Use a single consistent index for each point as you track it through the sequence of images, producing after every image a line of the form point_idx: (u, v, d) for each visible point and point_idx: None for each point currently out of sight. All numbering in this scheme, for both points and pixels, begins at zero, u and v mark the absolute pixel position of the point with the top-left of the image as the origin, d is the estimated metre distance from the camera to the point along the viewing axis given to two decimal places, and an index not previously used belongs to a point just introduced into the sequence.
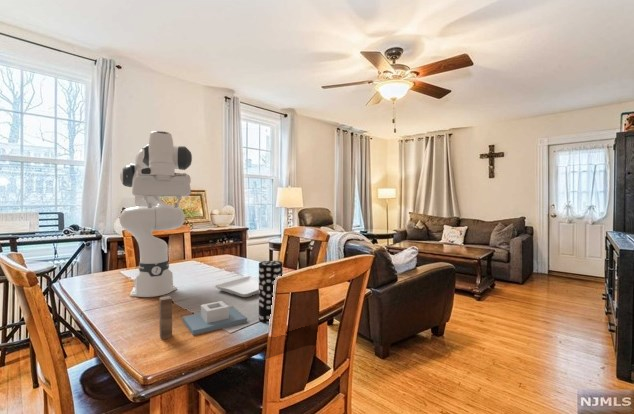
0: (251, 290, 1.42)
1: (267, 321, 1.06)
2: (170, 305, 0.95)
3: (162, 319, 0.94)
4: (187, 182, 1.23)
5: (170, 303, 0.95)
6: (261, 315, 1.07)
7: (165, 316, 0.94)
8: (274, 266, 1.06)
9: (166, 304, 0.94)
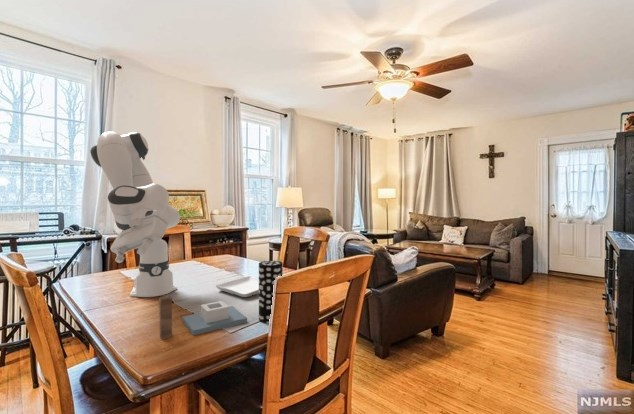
0: (251, 290, 1.42)
1: (267, 321, 1.06)
2: (170, 305, 0.95)
3: (162, 319, 0.94)
4: None
5: (170, 303, 0.95)
6: (261, 315, 1.07)
7: (165, 316, 0.94)
8: (274, 266, 1.06)
9: (166, 304, 0.94)
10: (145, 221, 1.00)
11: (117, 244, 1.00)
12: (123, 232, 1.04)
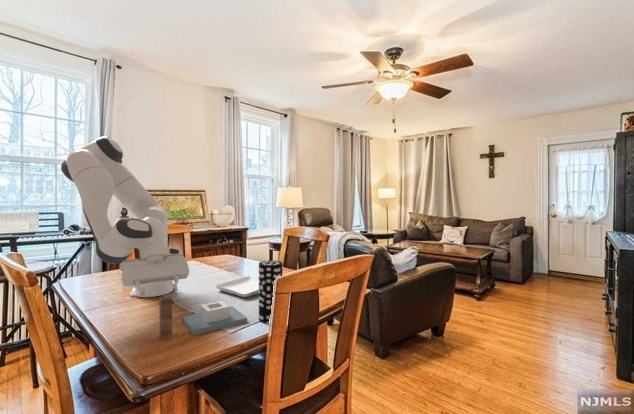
0: (251, 290, 1.42)
1: (267, 321, 1.06)
2: (170, 305, 0.95)
3: (162, 319, 0.94)
4: None
5: (170, 303, 0.95)
6: (261, 315, 1.07)
7: (165, 316, 0.94)
8: (274, 266, 1.06)
9: (166, 304, 0.94)
10: (170, 258, 1.08)
11: (134, 276, 0.99)
12: (134, 263, 1.02)
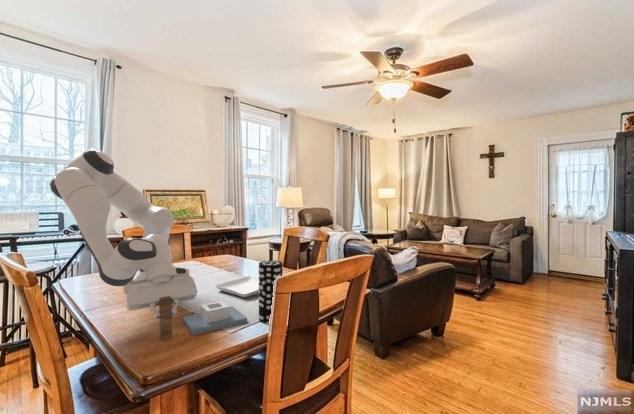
0: (251, 290, 1.42)
1: (267, 321, 1.06)
2: (170, 305, 0.95)
3: (162, 319, 0.94)
4: None
5: (170, 303, 0.95)
6: (261, 315, 1.07)
7: (165, 316, 0.94)
8: (274, 266, 1.06)
9: (166, 304, 0.94)
10: (177, 279, 1.02)
11: (140, 299, 0.94)
12: (139, 285, 0.96)
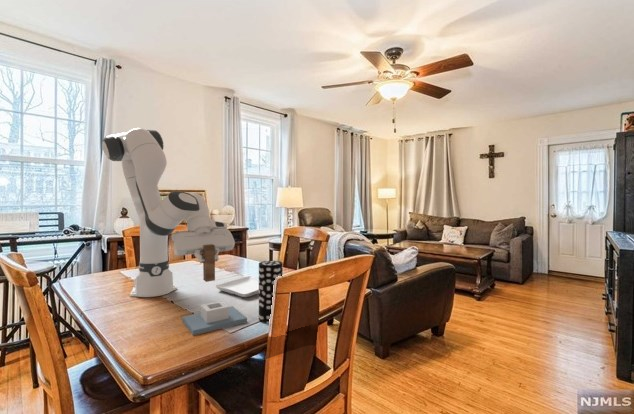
0: (251, 290, 1.42)
1: (267, 321, 1.06)
2: (213, 251, 1.05)
3: (206, 263, 1.04)
4: None
5: (213, 250, 1.05)
6: (261, 315, 1.07)
7: (209, 261, 1.04)
8: (274, 266, 1.06)
9: (209, 250, 1.04)
10: (216, 231, 1.12)
11: (187, 245, 1.03)
12: (184, 234, 1.06)
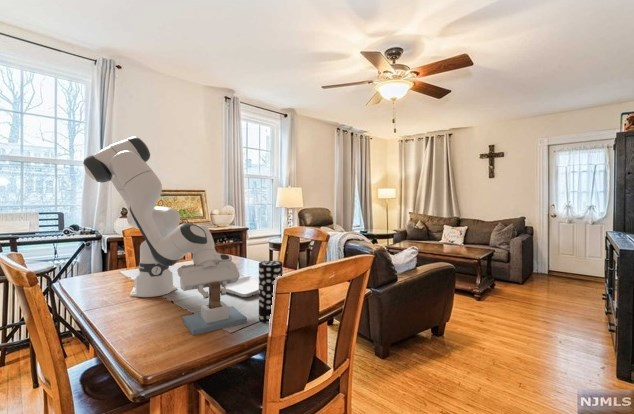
0: (251, 290, 1.42)
1: (267, 321, 1.06)
2: (219, 289, 1.07)
3: (212, 301, 1.05)
4: None
5: (219, 288, 1.07)
6: (261, 315, 1.07)
7: (215, 299, 1.06)
8: (274, 266, 1.06)
9: (215, 288, 1.06)
10: (222, 264, 1.14)
11: (193, 281, 1.05)
12: (190, 269, 1.08)
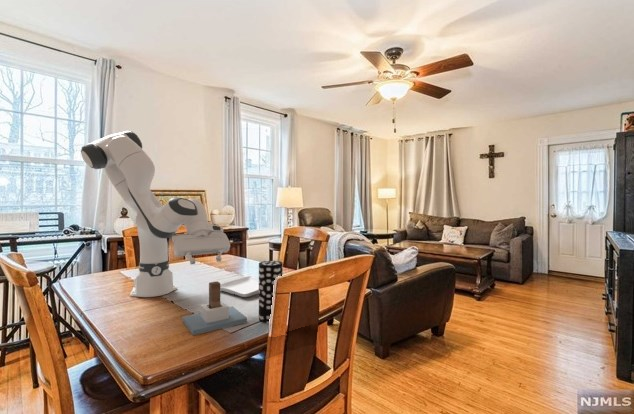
0: (251, 290, 1.42)
1: (267, 321, 1.06)
2: (219, 289, 1.07)
3: (212, 301, 1.05)
4: None
5: (219, 288, 1.07)
6: (261, 315, 1.07)
7: (215, 299, 1.06)
8: (274, 266, 1.06)
9: (215, 288, 1.06)
10: (213, 234, 1.22)
11: (186, 247, 1.13)
12: (184, 237, 1.16)
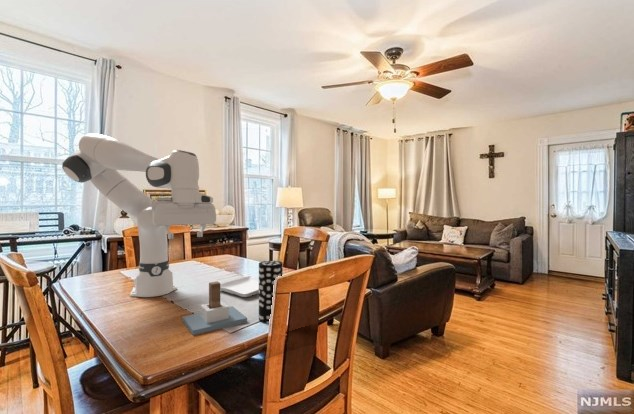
0: (251, 290, 1.42)
1: (267, 321, 1.06)
2: (219, 289, 1.07)
3: (212, 301, 1.05)
4: None
5: (219, 288, 1.07)
6: (261, 315, 1.07)
7: (215, 299, 1.06)
8: (274, 266, 1.06)
9: (215, 288, 1.06)
10: (200, 206, 1.07)
11: (166, 221, 1.02)
12: (166, 206, 1.01)
